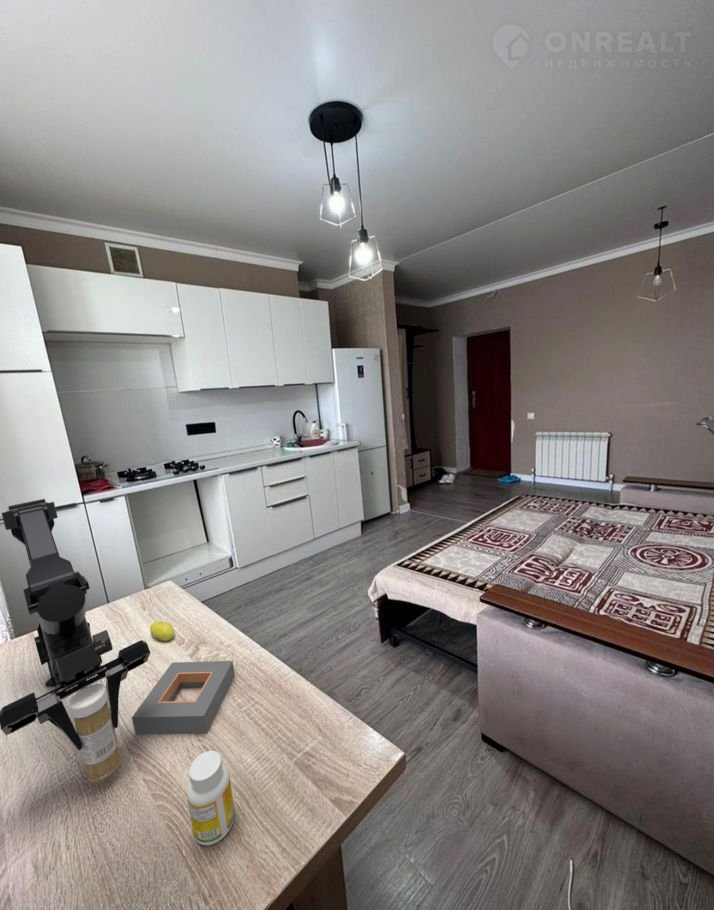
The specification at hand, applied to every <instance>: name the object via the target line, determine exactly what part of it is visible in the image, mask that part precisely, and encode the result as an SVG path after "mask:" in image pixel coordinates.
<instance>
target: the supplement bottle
mask: <svg viewBox="0 0 714 910" xmlns="http://www.w3.org/2000/svg"><path fill="white" fill-rule="evenodd" d="M188 775H189V780H188V783H187V786H186V798H187V805H188V810H189V811H188V812H189V816H190V821H191V826H192V832H193V833H192V834H193V836H194V839H195V841H196V842H197V843H198V844H200V845H201V846H202V845H203V846H212V845H214V844H217V843H218V842H219V841H221V840H222V839H223V838H225V836H227V834H228V833H229V831H230V830H231V828H232V826H233V823H234V820H235V815H236V814H235V811H236V810H235V804H234V797H233V790H232V784H231V778H230V772H229V769H228V767H227V766H226V765H225V763H223V761H222V756H221V754H220V753H219V752H218V751H215V750H207V751H205V752H202V753H201V754H199V755H198V756H197V757H196V758H195V759H194V760H193V761H192V762H191V764H190V766H189V770H188Z"/></svg>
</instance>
